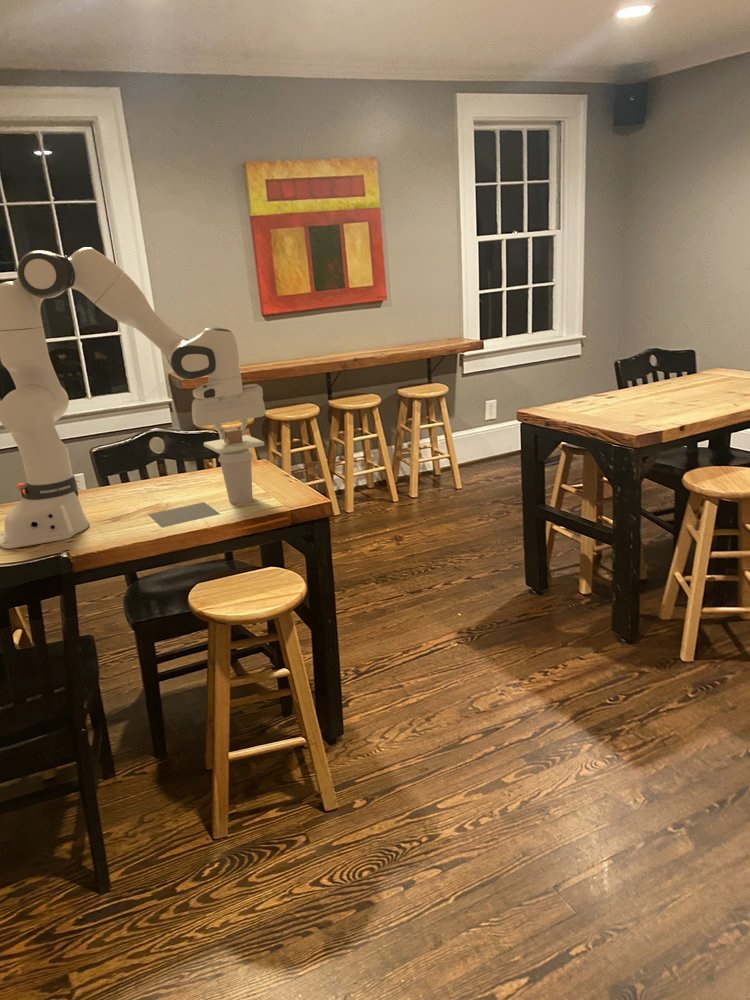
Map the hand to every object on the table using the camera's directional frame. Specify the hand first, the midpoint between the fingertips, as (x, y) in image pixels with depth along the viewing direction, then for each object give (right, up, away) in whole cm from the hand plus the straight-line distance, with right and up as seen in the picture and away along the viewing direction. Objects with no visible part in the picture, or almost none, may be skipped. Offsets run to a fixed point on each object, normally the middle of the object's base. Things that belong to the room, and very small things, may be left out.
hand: (232, 437), depth 202 cm
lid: (0, -2, +1) cm, 2 cm away
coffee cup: (+1, -18, +6) cm, 19 cm away
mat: (-13, -22, -3) cm, 26 cm away
